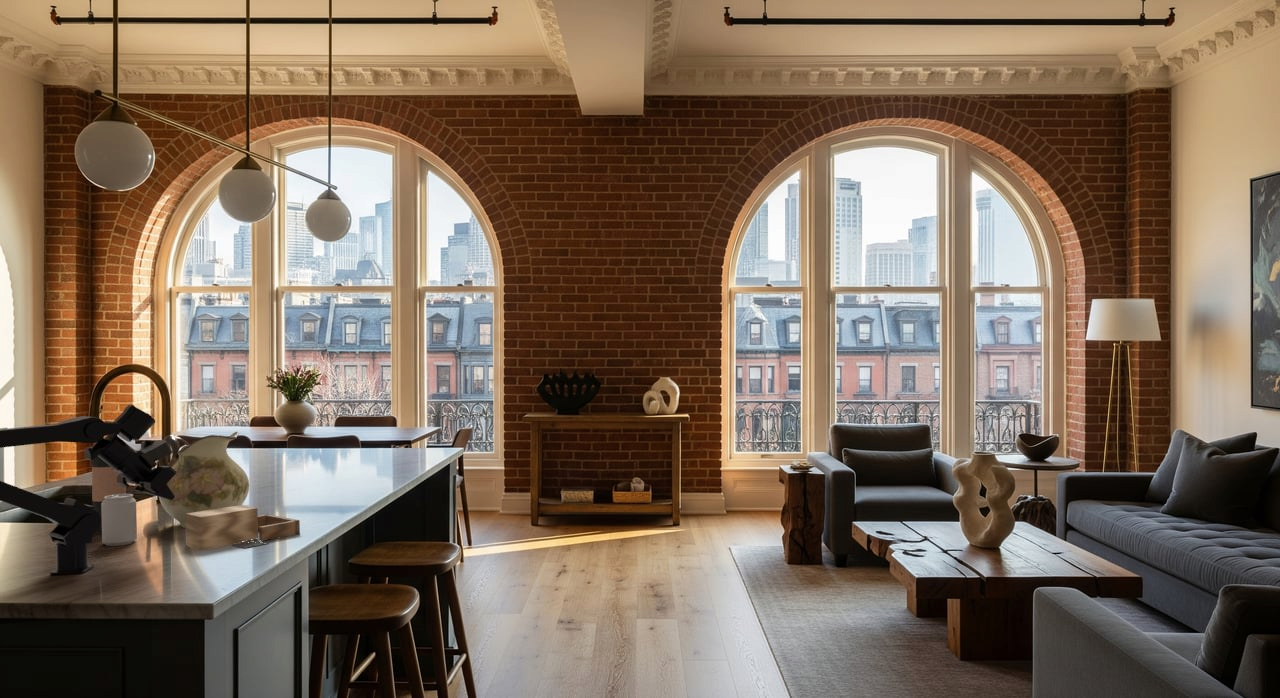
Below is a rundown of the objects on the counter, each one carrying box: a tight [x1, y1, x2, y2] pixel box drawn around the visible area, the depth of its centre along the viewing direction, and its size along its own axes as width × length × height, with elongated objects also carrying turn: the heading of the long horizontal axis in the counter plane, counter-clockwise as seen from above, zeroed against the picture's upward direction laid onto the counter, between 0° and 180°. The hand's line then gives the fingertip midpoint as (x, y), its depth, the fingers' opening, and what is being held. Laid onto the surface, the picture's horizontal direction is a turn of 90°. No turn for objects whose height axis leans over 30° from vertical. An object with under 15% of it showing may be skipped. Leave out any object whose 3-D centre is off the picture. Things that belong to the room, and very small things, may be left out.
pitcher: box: [158, 431, 250, 529], centre depth 241 cm, size 22×24×25 cm
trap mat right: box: [231, 539, 267, 549], centre depth 214 cm, size 6×6×1 cm
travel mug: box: [91, 456, 127, 535], centre depth 233 cm, size 8×8×20 cm
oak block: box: [185, 504, 259, 551], centre depth 217 cm, size 14×8×8 cm, turn 142°
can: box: [101, 493, 138, 547], centre depth 218 cm, size 8×8×12 cm
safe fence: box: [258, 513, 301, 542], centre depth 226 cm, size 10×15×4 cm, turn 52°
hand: (172, 498), depth 208 cm, fingers closed
